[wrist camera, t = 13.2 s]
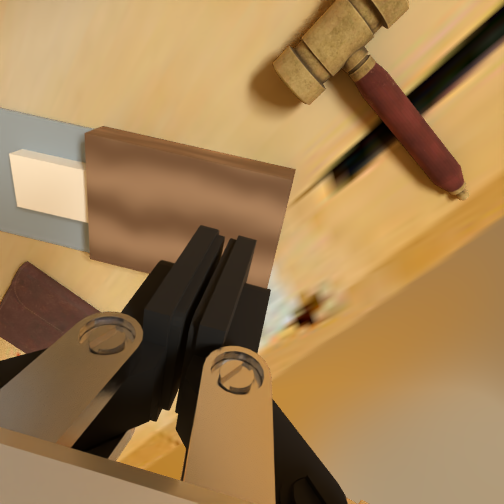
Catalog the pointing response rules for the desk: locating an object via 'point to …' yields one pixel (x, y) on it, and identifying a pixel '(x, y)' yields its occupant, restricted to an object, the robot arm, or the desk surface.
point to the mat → (47, 142)
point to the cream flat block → (50, 184)
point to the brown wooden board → (178, 200)
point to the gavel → (367, 80)
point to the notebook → (39, 310)
